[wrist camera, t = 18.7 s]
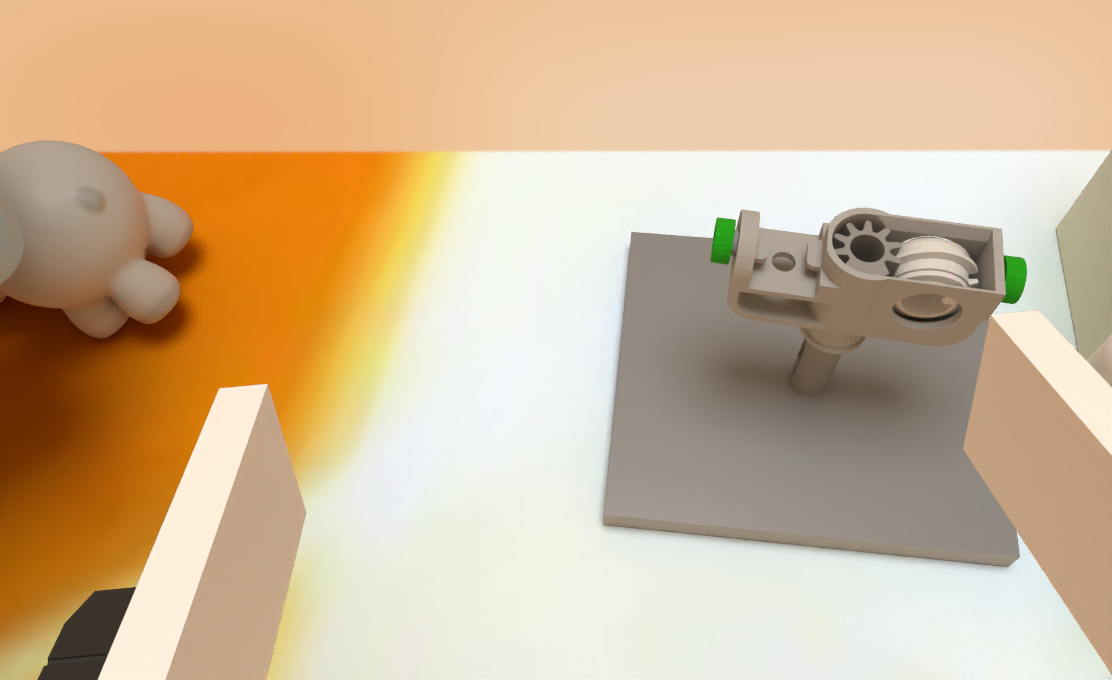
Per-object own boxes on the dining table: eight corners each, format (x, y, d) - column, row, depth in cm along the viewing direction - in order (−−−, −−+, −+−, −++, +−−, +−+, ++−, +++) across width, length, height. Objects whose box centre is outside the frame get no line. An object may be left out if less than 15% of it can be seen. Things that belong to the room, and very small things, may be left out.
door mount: (596, 597, 37) (602, 291, 18) (635, 198, 47) (665, -271, 28) (1178, 661, 35) (1870, 396, 16) (1090, 231, 45) (1455, -248, 26)
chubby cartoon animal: (41, 261, 50) (-114, 159, 43) (219, 207, 45) (76, 84, 39) (-6, 381, 46) (-184, 290, 39) (183, 335, 41) (18, 224, 35)
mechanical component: (692, 332, 41) (721, 188, 33) (931, 367, 40) (1026, 227, 32) (684, 392, 40) (712, 257, 31) (931, 430, 39) (1032, 301, 30)
